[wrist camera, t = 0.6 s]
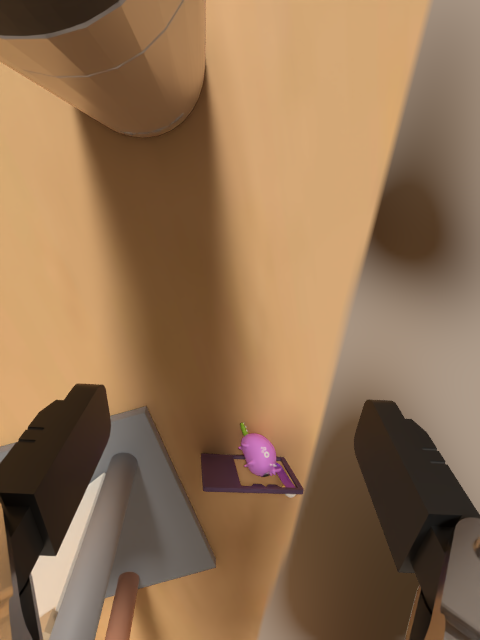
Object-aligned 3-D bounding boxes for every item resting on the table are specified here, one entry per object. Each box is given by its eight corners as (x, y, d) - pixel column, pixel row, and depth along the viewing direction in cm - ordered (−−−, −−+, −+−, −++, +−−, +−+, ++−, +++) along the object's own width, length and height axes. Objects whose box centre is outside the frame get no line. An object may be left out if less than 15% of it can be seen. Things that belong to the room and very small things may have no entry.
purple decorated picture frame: (202, 500, 28) (302, 502, 30) (208, 440, 28) (309, 445, 30) (200, 463, 35) (282, 466, 36) (205, 414, 35) (287, 419, 36)
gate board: (-73, 467, 32) (-336, 734, 17) (146, 406, 32) (89, 617, 16) (45, 605, 41) (-52, 861, 26) (215, 558, 41) (222, 787, 26)
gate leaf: (102, 471, 33) (44, 631, 21) (117, 481, 33) (70, 642, 22) (7, 544, 35) (-92, 725, 23) (24, 553, 36) (-65, 733, 24)
